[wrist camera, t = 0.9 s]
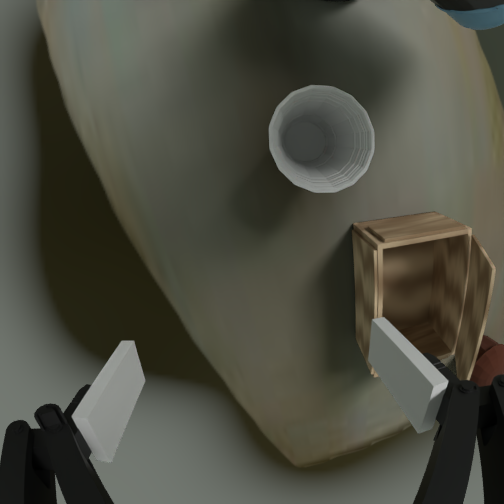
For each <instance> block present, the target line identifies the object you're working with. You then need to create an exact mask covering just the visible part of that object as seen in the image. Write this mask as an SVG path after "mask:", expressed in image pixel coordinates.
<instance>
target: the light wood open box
mask: <svg viewBox="0 0 504 504" xmlns="http://www.w3.org/2000/svg"><path fill="white" fill-rule="evenodd" d="M471 235H472V228H470V227H468V226H465V225H463V224H461V223H459V222H457V221H455V220H453V219H450V218H448V217H446V216H444V215H441V214H439V213H437V212H428V213H421V214H414V215H407V216H400V217H393V218H386V219H379V220H372V221H365V222H359V223H353V230H352V241H353V256H354V276H355V308H356V341H357V343H358V345H359V347H360V350H361V352H362V354H363V356H364V359H365V361H366V363H367V366H368V368H369V370H370V373H371V374H373V376H374V377H379V375H378V374H377V373H376V371H375V370H374V368H373V367H372V365H371V364H370V363H369V361H368V356H369V347H370V336H371V325H372V319H376V318H381V317H384V318H385V319H386V320H388V321H389V322H390V323H391V324H392V325H393V326H394V327H395V328H396V329H397V330H398V331H399V332H400V333H401V334H402V335H403V336H404V337H405V338H406V339H407V340H408V341H409V342H410V343H411V344H412V345H413V346H414V347H415V348H416V349H417V350H418V351H419V352H420V353H421V354H423V353H430V354H432V355H434V356H436V357H437V358H438V359H439V360H441V359H444V358H447V357H448V356H450V355H453V354H454V352H455V348H456V344H457V339H458V335H459V330H460V325H461V320H462V314H463V308H464V302H465V296H466V289H467V281H468V272H469V262H470V250H471Z"/></svg>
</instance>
